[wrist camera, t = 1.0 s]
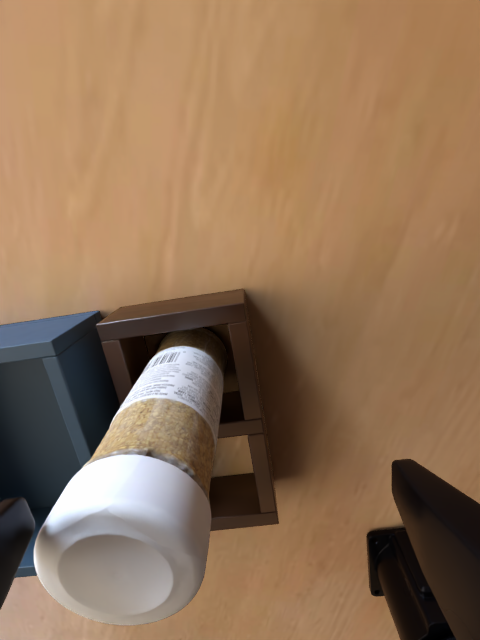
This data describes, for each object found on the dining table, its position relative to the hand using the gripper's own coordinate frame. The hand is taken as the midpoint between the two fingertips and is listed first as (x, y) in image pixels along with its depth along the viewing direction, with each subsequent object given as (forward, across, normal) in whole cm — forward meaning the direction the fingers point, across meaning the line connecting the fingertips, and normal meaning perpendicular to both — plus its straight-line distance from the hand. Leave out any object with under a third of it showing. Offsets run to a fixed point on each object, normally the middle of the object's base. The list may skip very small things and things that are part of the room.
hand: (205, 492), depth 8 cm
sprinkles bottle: (+13, +3, +2) cm, 14 cm away
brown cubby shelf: (+13, +3, +5) cm, 14 cm away
